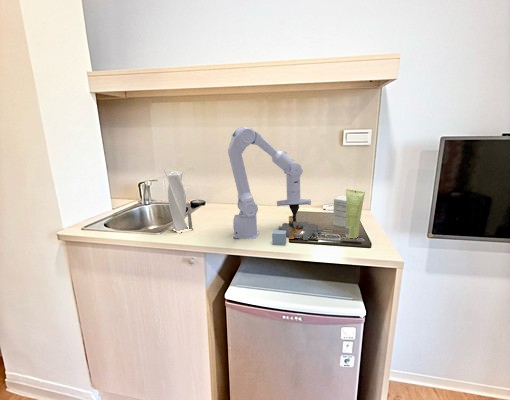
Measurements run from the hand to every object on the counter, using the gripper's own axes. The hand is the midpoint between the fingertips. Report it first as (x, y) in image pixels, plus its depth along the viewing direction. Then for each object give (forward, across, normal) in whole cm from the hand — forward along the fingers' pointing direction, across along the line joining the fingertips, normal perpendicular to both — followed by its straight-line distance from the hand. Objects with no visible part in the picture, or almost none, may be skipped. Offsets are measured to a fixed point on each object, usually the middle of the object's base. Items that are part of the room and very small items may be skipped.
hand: (294, 220), depth 122 cm
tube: (+4, -22, +11) cm, 25 cm away
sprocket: (+3, -2, +6) cm, 7 cm away
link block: (+3, +7, +16) cm, 18 cm away
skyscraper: (+3, +51, -1) cm, 51 cm away
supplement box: (+4, -23, -4) cm, 23 cm away
